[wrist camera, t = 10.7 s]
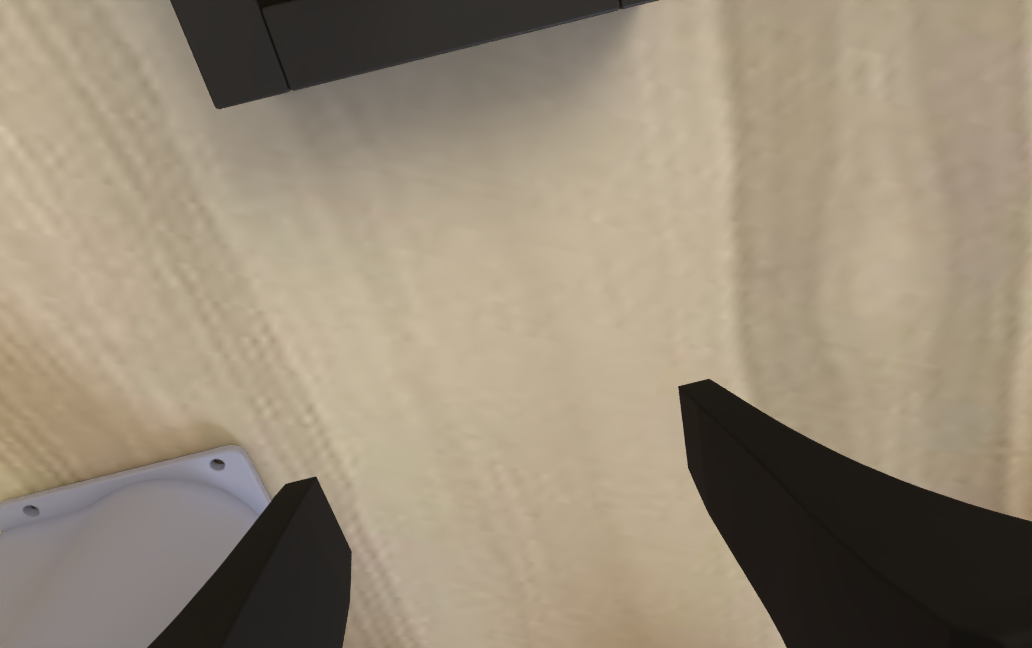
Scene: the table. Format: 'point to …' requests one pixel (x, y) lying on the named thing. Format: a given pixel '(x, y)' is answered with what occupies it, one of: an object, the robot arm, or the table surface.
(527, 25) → the holder
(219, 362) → the table surface
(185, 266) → the table surface
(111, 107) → the table surface
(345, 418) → the table surface
